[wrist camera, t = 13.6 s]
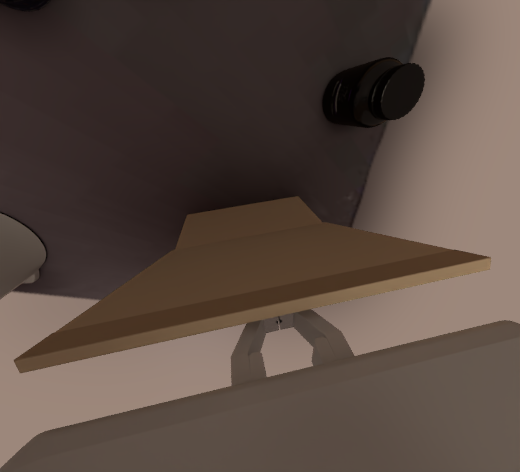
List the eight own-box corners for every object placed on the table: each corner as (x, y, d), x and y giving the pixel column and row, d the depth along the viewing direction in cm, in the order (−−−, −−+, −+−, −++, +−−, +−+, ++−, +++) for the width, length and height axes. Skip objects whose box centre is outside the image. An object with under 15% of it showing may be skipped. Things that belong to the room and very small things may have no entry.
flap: (20, 373, 8) (13, 360, 7) (173, 254, 25) (172, 249, 25) (490, 269, 9) (490, 257, 9) (325, 226, 27) (325, 222, 27)
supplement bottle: (313, 93, 28) (363, 82, 18) (354, 57, 26) (432, 24, 17) (331, 134, 32) (381, 143, 22) (368, 104, 30) (439, 99, 20)
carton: (211, 279, 45) (207, 325, 35) (187, 214, 35) (173, 254, 25) (297, 262, 47) (316, 301, 37) (298, 195, 37) (325, 225, 27)
